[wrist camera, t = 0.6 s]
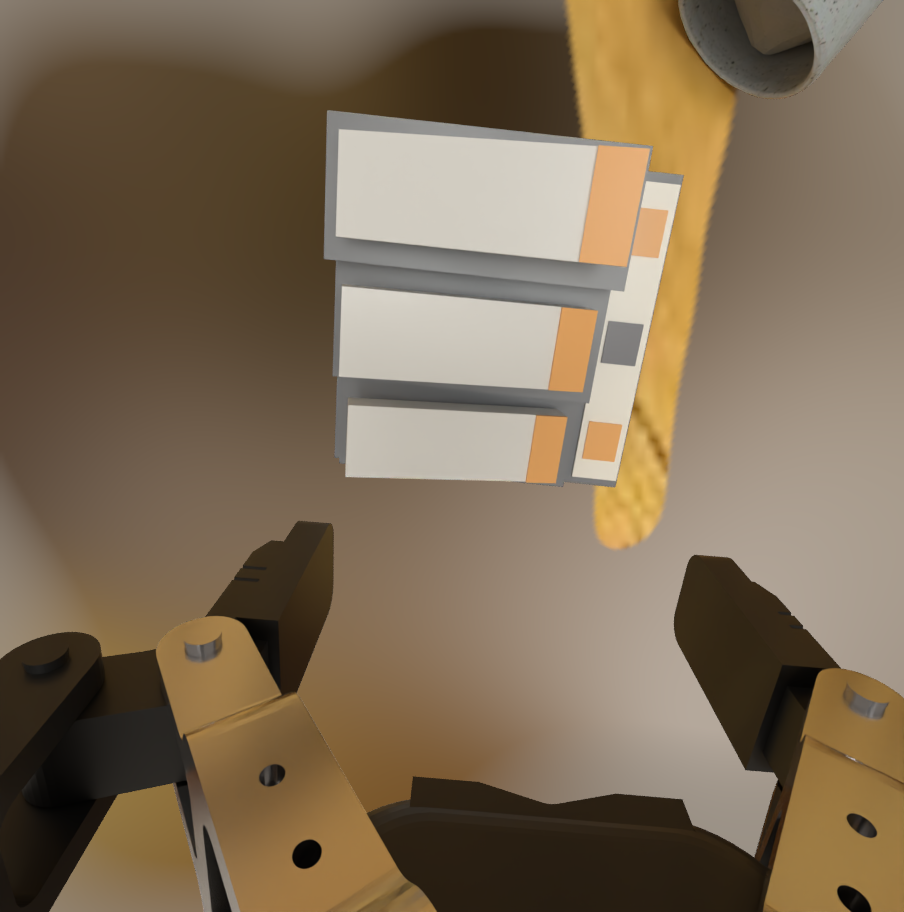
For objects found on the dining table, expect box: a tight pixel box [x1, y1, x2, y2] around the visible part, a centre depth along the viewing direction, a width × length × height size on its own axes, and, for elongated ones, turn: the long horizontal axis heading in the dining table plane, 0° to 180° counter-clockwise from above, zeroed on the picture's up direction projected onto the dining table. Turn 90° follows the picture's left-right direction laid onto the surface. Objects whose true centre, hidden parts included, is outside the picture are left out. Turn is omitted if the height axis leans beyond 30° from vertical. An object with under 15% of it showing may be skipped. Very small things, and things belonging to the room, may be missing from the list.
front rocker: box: [336, 129, 650, 267], centre depth 22 cm, size 4×12×2 cm, turn 84°
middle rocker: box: [339, 284, 598, 392], centre depth 27 cm, size 4×12×2 cm, turn 84°
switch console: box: [324, 110, 684, 487], centre depth 29 cm, size 18×18×8 cm
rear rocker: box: [346, 397, 568, 483], centre depth 31 cm, size 4×12×2 cm, turn 84°
